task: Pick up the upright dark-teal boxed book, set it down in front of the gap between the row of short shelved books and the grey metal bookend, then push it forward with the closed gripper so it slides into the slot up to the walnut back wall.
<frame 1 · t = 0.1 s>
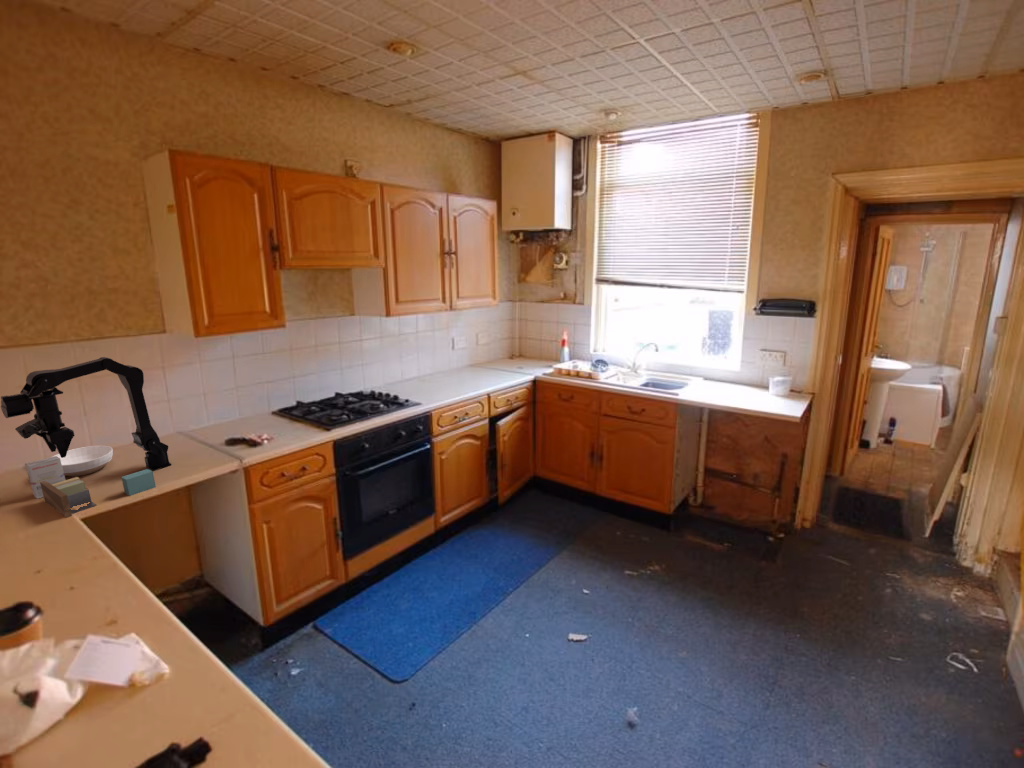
hand: (58, 454, 178), 15 cm above the counter, fingers open, 9 cm apart
ink box: (50, 493, 183), on the counter
row of shelved books: (69, 498, 179), on the counter
walnut back wall: (58, 508, 172), on the counter
bowl: (84, 470, 202), on the counter
teal boxed book: (140, 490, 184), on the counter
grey metal bookend: (78, 506, 173), on the counter
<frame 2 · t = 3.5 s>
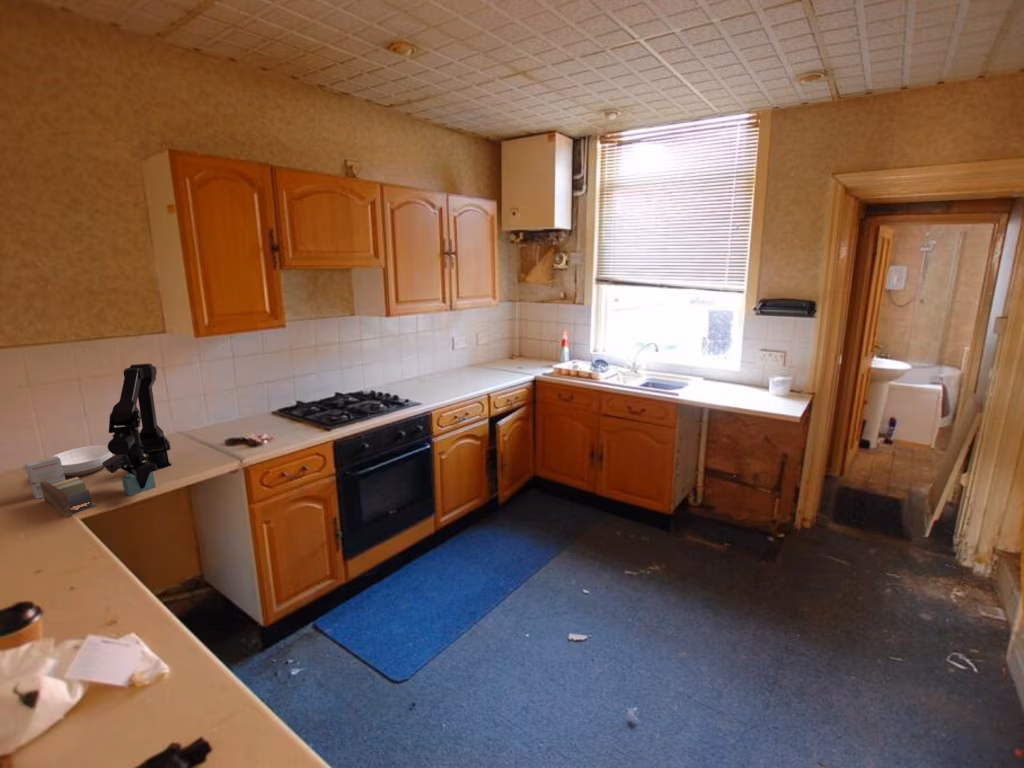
hand: (139, 486, 184), 1 cm above the counter, fingers closed on teal boxed book, 4 cm apart
teal boxed book: (140, 490, 184), on the counter, touching gripper
everything else where it was.
when the fingers open (2 cm above the counter, at t = 6.8 s): teal boxed book drops 1 cm, on the counter.
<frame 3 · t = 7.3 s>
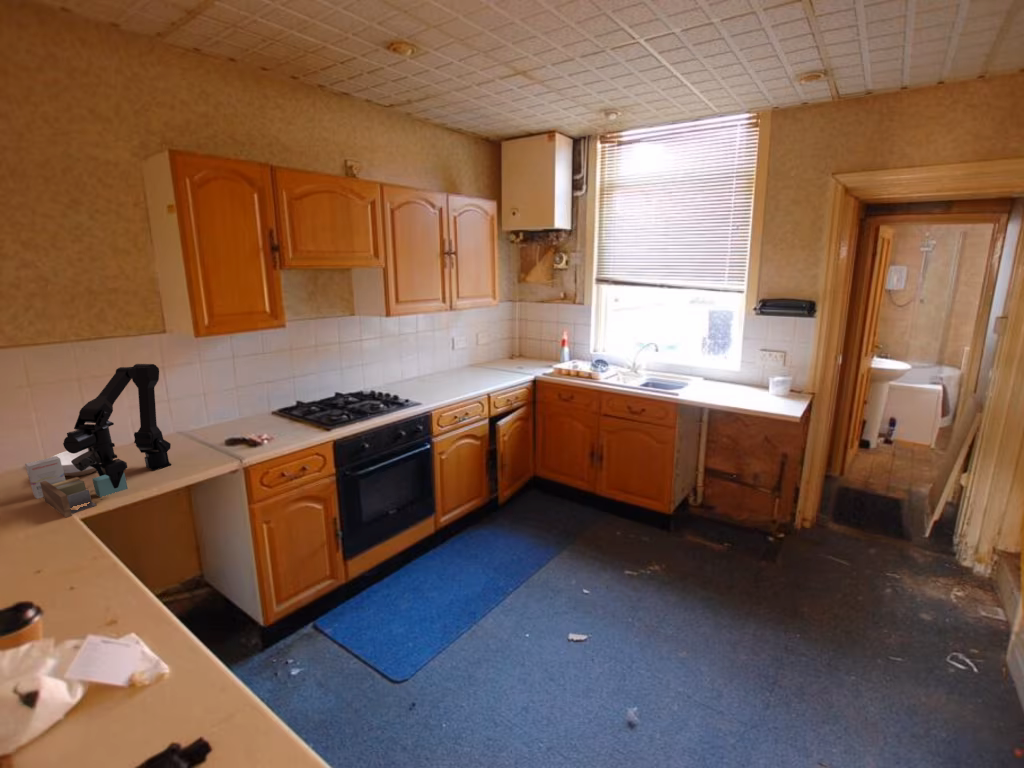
hand: (110, 484, 183), 2 cm above the counter, fingers open, 9 cm apart
teal boxed book: (112, 491, 184), on the counter
everything else where it was.
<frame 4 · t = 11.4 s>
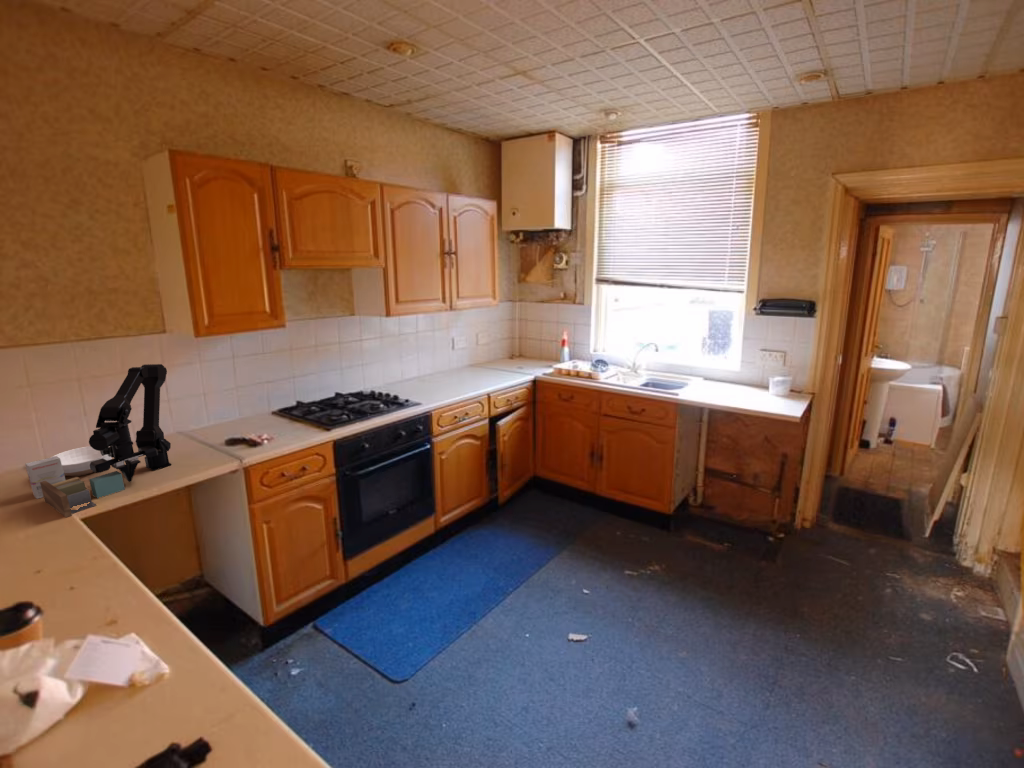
hand: (129, 481, 188), 2 cm above the counter, fingers closed
teal boxed book: (109, 492, 183), on the counter, touching gripper
everything else where it was.
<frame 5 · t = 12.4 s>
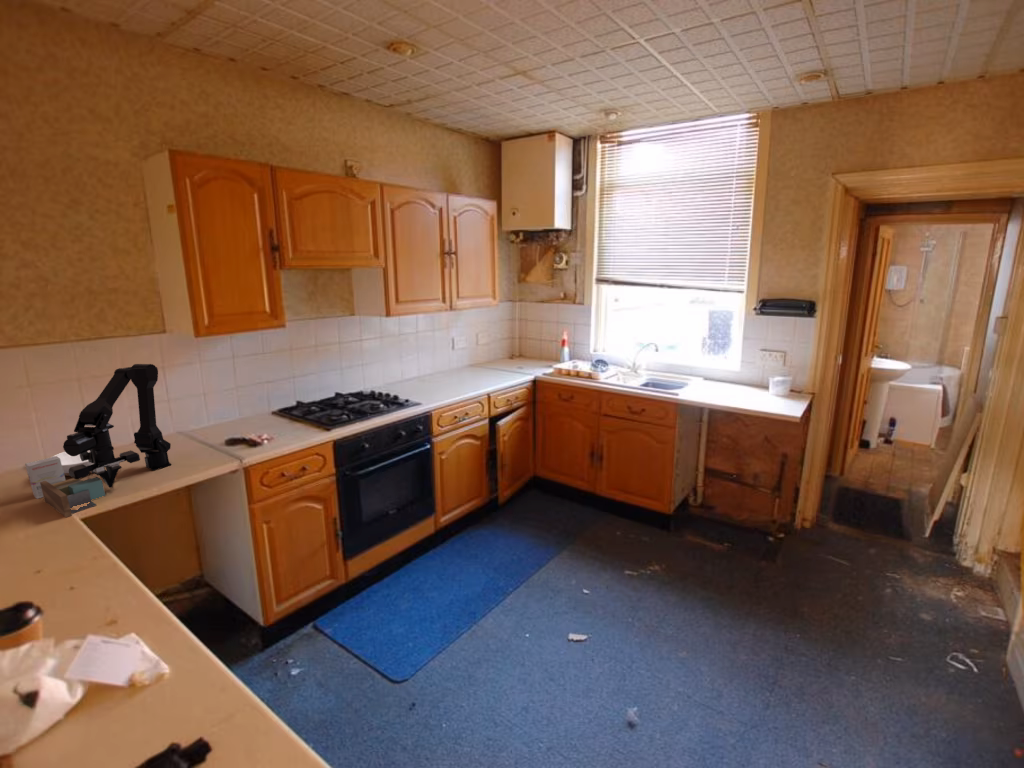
hand: (110, 487, 183), 2 cm above the counter, fingers closed
teal boxed book: (88, 499, 178), on the counter, touching gripper
everything else where it was.
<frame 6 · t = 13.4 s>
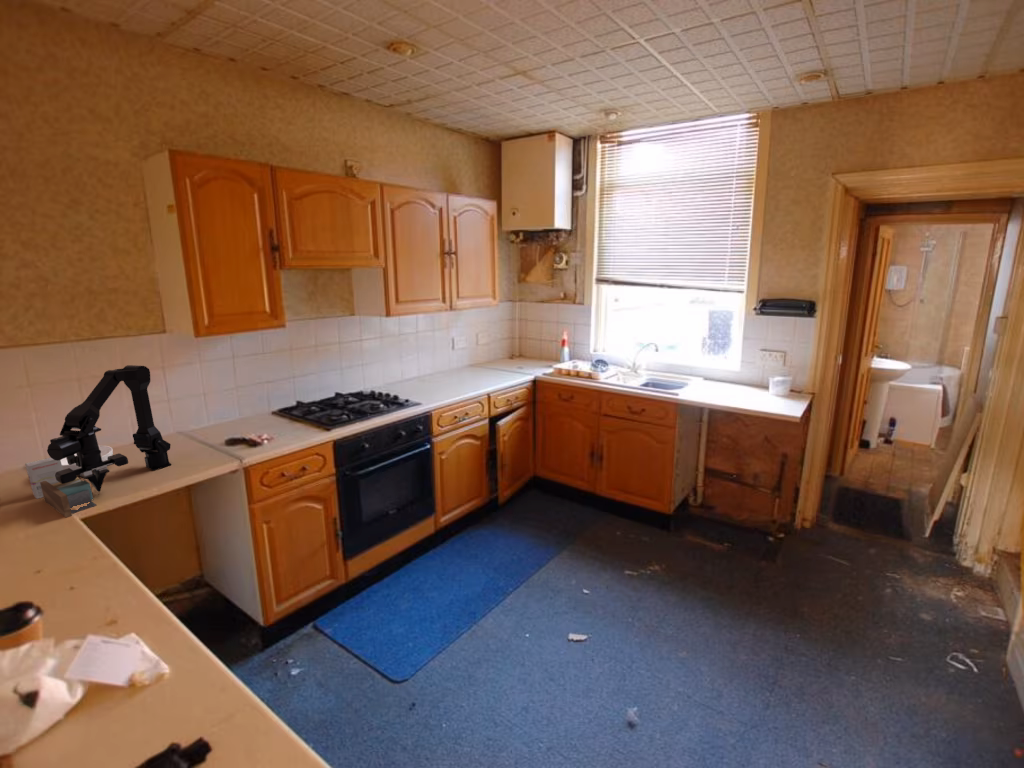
hand: (98, 491, 180), 2 cm above the counter, fingers closed
teal boxed book: (76, 503, 176), on the counter, touching gripper, walnut back wall
everything else where it was.
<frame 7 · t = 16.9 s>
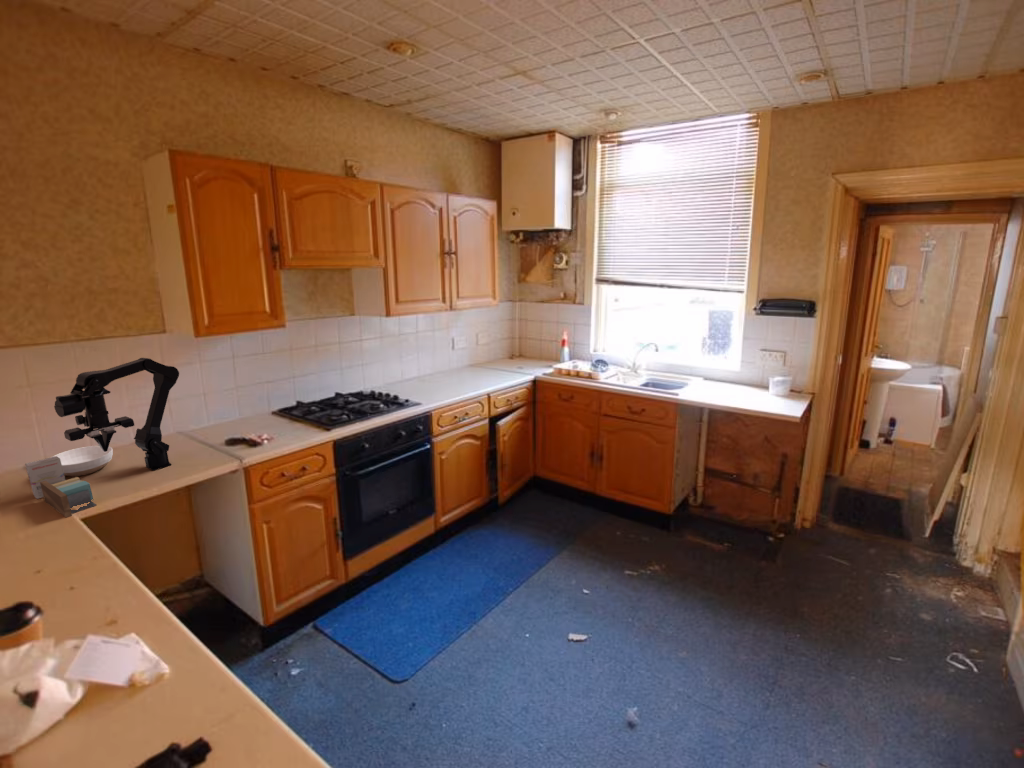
hand: (105, 451, 187), 12 cm above the counter, fingers closed
teal boxed book: (76, 503, 176), on the counter
everything else where it was.
at the end: teal boxed book 0.0 cm from the target spot, on the counter; teal boxed book tilted 0°; the gripper is holding nothing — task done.
